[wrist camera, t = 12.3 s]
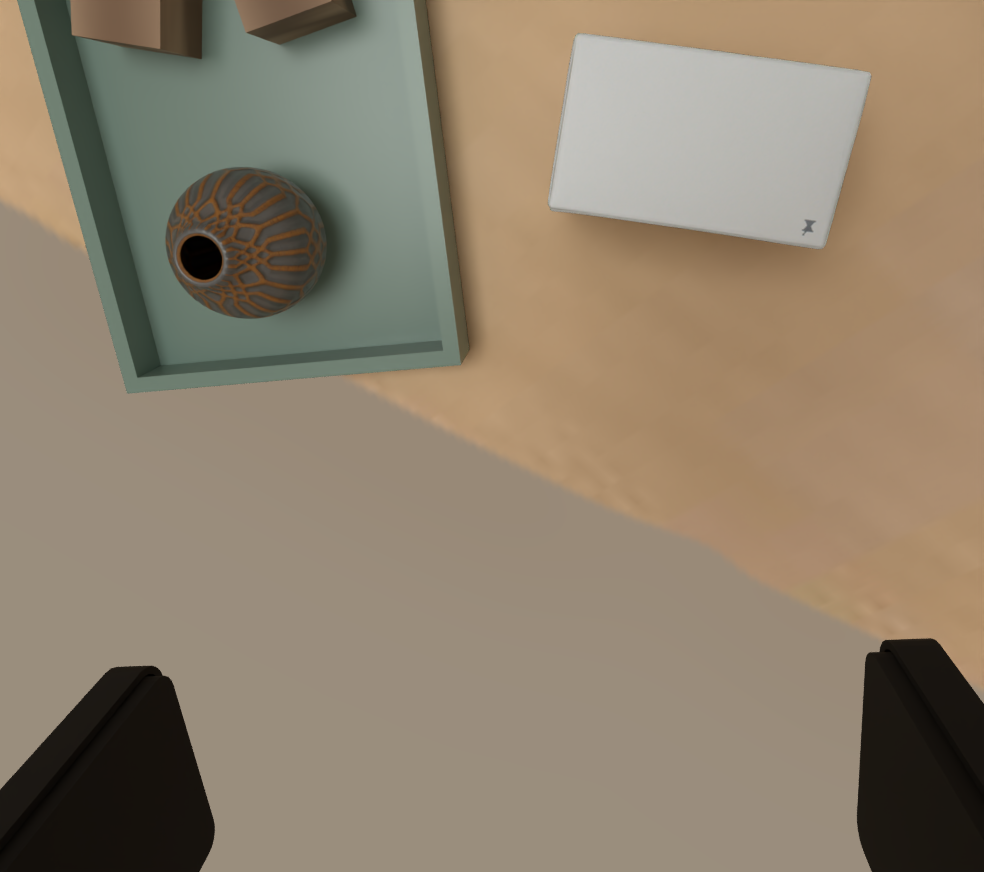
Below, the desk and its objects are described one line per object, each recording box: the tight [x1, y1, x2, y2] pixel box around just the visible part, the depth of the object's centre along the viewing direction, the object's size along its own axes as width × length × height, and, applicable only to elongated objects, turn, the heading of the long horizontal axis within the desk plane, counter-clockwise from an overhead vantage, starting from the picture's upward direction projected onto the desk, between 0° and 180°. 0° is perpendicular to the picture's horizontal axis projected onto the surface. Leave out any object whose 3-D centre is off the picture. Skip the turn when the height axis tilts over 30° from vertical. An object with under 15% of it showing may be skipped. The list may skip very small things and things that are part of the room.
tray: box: [17, 0, 469, 393], centre depth 38 cm, size 18×22×3 cm
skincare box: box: [548, 33, 871, 249], centre depth 33 cm, size 10×6×10 cm, turn 82°
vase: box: [165, 167, 327, 319], centre depth 36 cm, size 7×7×9 cm
